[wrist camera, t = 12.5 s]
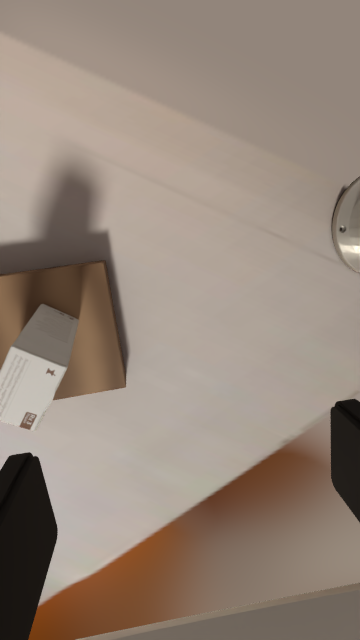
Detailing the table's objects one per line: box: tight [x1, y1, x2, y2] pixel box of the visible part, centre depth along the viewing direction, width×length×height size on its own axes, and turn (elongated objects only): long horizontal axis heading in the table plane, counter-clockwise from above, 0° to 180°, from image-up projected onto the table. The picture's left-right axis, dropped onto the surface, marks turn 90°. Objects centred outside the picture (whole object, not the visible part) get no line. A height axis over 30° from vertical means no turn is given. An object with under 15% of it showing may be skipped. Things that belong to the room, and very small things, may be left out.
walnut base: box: [0, 260, 126, 400], centre depth 38 cm, size 14×14×4 cm
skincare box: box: [0, 304, 79, 431], centre depth 30 cm, size 6×4×12 cm
